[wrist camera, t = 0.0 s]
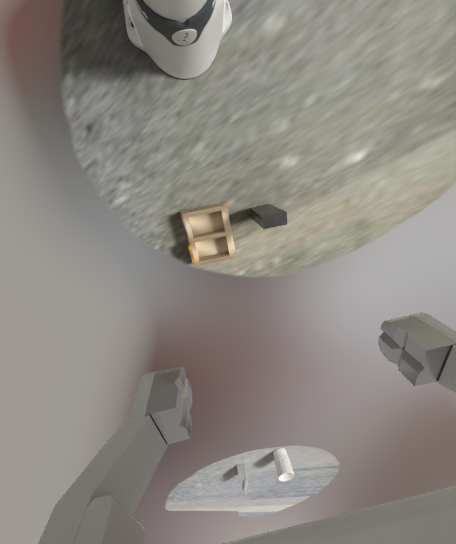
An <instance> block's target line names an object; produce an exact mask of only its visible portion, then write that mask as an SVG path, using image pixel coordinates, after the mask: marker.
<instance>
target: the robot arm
mask: <svg viewBox="0 0 456 544" xmlns="http://www.w3.org/2000/svg"><path fill="white" fill-rule="evenodd" d="M123 6H124V13H125V20H126V28H127V34H128V37H129V39H130V41H131V42H132V43H133V44H134V45H135V46H136V47H138V48H140V49H141V50H143V51H145V52H146V53H147V54H148V55H149V56H150V57H151V58H152V60H153V61H154V62H155V63H156V64H157V65H158V66H159V67H160V68H161V69H162V70H163V71H165V72H166V73H168V74H169V75H171V76H174V77H176V78H181V79H189V78H194V77H197V76H199V75H200V74H202V73H203V72H204V71H206V70H207V69H208V67H209V66H210V65H211V63H212V62H213V60H214V58H215V56H216V53H217V50H218V47H219V44H220V41H221V39H222V37H223V36H224V35H225V34H226V32H227V31H228V30H229V28H230V26H231V23H232V13H231V9H230V6H229V2H228V0H123ZM132 24H133V25H134V28H133V27H132ZM381 330H382V331H383V333H382V335H381V336H380V337H379V343H378V344H379V347H380V350H381V352H382V353H383V355H384V356H385V357H386V358H387V359H388V360H389V361H391V362H393V363H395V364H397V365H398V368H399V371H400V372H401V373H402V374H403V375H404V376H405V377H406V378H407V379H408V380H409V381H410V382H411V383H412V384H413V385H414V386H418V385H423V384H427V383H432V382H438V383H439V384H441V385H443V386H445V387H446V388H448V389H450V390H452V391H454V392H456V331H454V330H452V329H451V328H449V327H448V326H446V325H444V324H443V323H441V322H440V321H438V320H436V319H435V318H433V317H432V316H430V315H428V314H426V313H418V314H413V315H409V316H404V317H400V318H396V319H391V320H388V321H384V322H383V323H382V325H381ZM185 374H186V373H185V370H184V369H183V367H178V368H173V369H168V370H164V371H158V372H154V373H149V374H144V375H143V376H142V378H141V380H140V383H139V387H138V390H137V393H136V397H135V400H134V403H133V407H132V410H131V414H130V417H129V420H125V421H124V422H123V423H122V424H121V426H120V427H119V428H118V429H117V431H116V432H115V433H114V434H113V435H112V437H111V438H110V439H109V440H108V441H107V443H106V444H105V445H104V446H103V448H102V449H101V450H100V451H99V452H98V454H97V455H96V456H95V457H94V459H93V460H92V461H91V462H90V463H89V465H88V466H87V467H86V468H85V470H84V471H83V472H82V473H81V475H80V476H79V477H78V478H77V479H76V481H75V482H74V483H73V484H72V486H71V487H70V488H69V489H68V490H67V492H66V493H65V494H64V495H63V497H62V498H61V499H60V500H59V501H58V503H57V504H56V505H55V507H54V509H53V511H52V513H51V516H50V518H49V520H48V523H47V525H46V527H45V530H44V532H43V534H42V536H41V538H40V541H39V543H38V544H144V540H145V533H146V532H145V530H144V528H143V526H142V525H141V524H140V523H138V521H137V520H135V519H134V518H133V517H132V514H133V513H134V511H135V509H136V507H137V505H138V503H139V501H140V499H141V497H142V495H143V493H144V491H145V489H146V487H147V485H148V483H149V481H150V479H151V477H152V475H153V473H154V471H155V470H156V468H157V466H158V464H159V461H160V460H161V458H162V456H163V454H164V452H165V450H166V448H167V444H171V443H175V442H179V441H182V440H186V439H190V438H191V416H190V414H189V410H190V408H191V407H192V391H191V386H190V383H189V380H187V379H185ZM223 544H456V486H453V487H449V488H445V489H441V490H437V491H433V492H429V493H425V494H421V495H417V496H413V497H409V498H405V499H400V500H397V501H392V502H388V503H384V504H380V505H376V506H373V507H369V508H365V509H361V510H356V511H353V512H349V513H345V514H340V515H336V516H332V517H328V518H324V519H320V520H316V521H312V522H308V523H304V524H300V525H296V526H292V527H288V528H284V529H280V530H276V531H272V532H268V533H263V534H260V535H255V536H251V537H247V538H243V539H239V540H235V541H231V542H227V543H223Z"/></svg>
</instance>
